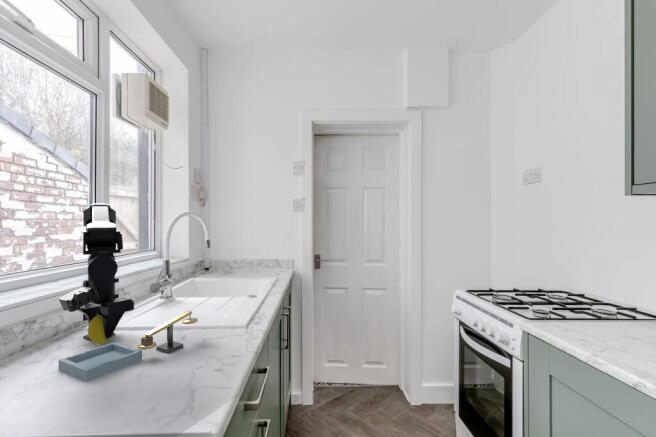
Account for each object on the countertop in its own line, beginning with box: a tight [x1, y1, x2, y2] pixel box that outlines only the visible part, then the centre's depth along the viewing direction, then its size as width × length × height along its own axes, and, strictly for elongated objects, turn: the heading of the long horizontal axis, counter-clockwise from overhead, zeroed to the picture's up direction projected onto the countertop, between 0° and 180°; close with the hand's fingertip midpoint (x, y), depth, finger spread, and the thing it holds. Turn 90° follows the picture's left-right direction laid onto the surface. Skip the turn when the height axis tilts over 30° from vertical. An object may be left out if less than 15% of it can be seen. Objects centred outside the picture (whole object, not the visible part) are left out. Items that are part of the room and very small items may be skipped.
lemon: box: [87, 316, 115, 346], centre depth 83 cm, size 6×6×8 cm
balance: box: [137, 310, 199, 354], centre depth 93 cm, size 5×18×9 cm, turn 152°
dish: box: [57, 341, 143, 383], centre depth 83 cm, size 13×13×2 cm
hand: (101, 336), depth 83 cm, fingers closed on lemon, 5 cm apart
